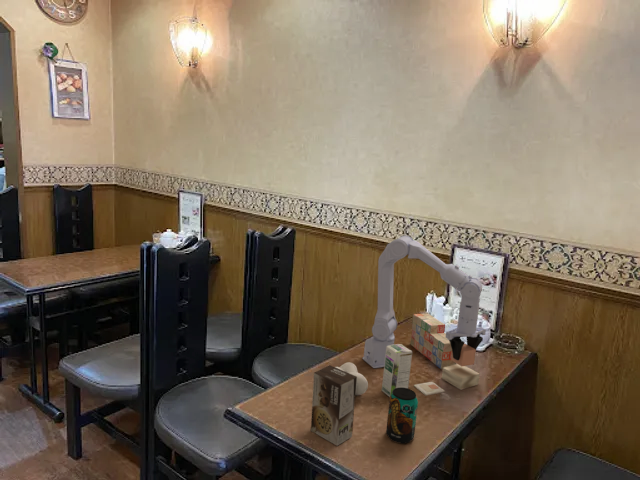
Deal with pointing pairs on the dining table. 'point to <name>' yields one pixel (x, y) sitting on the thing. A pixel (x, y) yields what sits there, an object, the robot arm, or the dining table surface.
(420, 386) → the card
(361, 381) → the white lobed shape
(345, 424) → the coffee box
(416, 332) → the stack of blocks
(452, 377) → the ash block
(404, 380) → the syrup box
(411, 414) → the beverage can
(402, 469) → the dining table surface
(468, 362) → the terracotta cube
